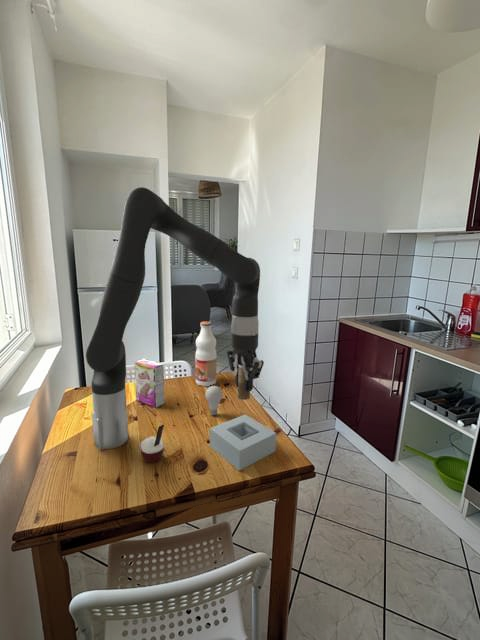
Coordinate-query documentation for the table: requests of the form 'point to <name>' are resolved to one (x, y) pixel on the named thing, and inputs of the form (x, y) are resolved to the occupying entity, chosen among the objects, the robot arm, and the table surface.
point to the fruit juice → (206, 356)
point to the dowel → (242, 384)
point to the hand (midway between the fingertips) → (243, 388)
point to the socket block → (242, 441)
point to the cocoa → (153, 447)
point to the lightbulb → (213, 398)
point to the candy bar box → (149, 382)
